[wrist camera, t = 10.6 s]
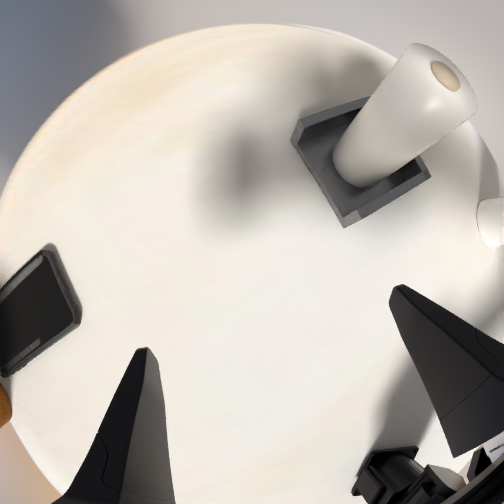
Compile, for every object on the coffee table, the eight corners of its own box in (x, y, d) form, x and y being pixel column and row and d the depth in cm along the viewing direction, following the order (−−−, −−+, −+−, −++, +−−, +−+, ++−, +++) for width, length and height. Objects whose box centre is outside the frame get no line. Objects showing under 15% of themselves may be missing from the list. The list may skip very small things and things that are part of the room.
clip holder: (362, 113, 25) (377, 94, 21) (410, 188, 24) (431, 176, 21) (290, 140, 24) (299, 119, 20) (343, 228, 23) (361, 219, 20)
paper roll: (392, 162, 23) (484, 90, 10) (366, 200, 23) (472, 131, 10) (350, 126, 23) (421, 31, 10) (321, 160, 23) (395, 57, 10)
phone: (-25, 316, 19) (46, 245, 20) (-19, 316, 20) (53, 246, 21) (2, 381, 18) (81, 324, 20) (8, 379, 19) (87, 322, 21)
